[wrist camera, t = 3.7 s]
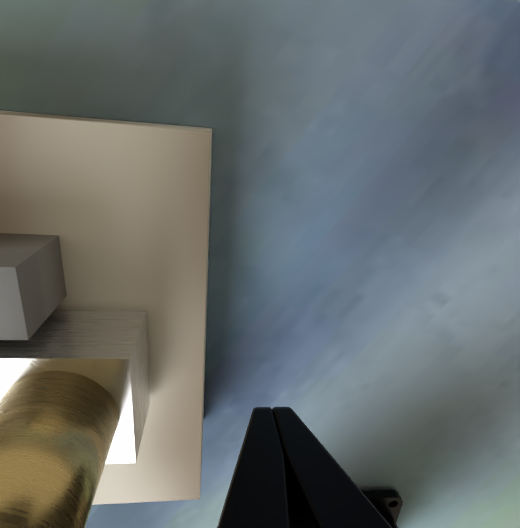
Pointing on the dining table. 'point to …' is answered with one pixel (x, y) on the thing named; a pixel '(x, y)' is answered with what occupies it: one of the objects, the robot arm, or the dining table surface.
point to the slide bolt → (69, 413)
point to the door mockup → (116, 264)
